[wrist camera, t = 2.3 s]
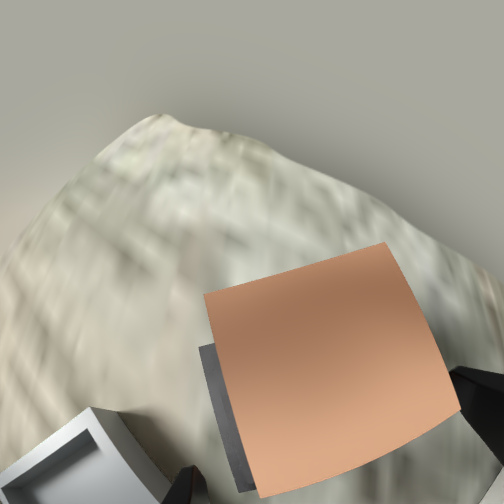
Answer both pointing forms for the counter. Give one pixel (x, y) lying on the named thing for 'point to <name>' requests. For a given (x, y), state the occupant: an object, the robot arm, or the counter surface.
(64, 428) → the tray
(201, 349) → the grey square base plate
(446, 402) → the block
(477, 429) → the robot arm
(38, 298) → the counter surface
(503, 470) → the milk
